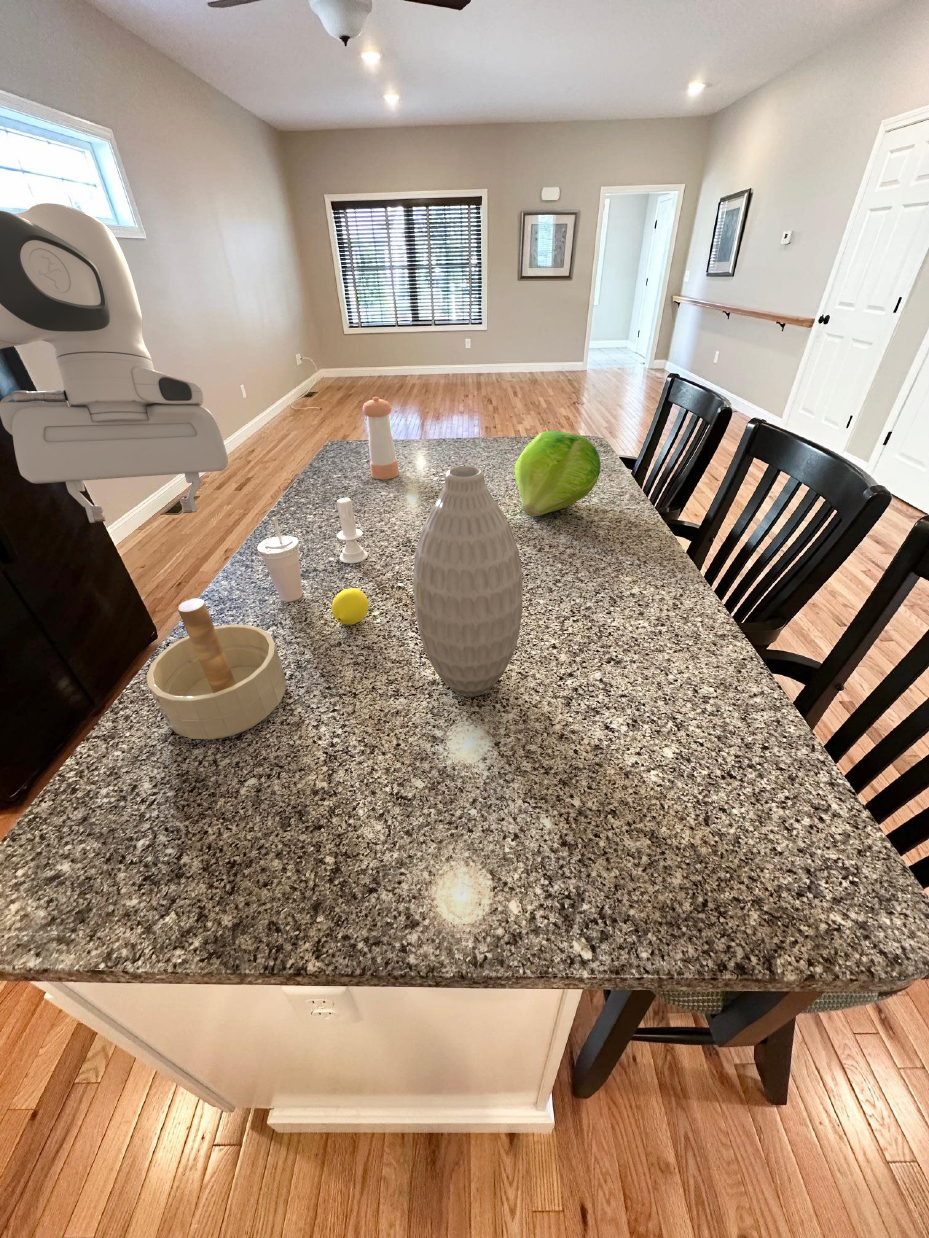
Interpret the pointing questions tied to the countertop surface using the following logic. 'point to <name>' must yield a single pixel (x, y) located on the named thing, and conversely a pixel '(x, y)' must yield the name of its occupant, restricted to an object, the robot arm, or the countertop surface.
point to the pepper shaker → (380, 439)
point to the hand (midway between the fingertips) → (145, 517)
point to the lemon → (350, 606)
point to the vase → (468, 585)
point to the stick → (206, 644)
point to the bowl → (228, 710)
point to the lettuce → (556, 471)
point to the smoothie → (283, 564)
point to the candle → (349, 533)
